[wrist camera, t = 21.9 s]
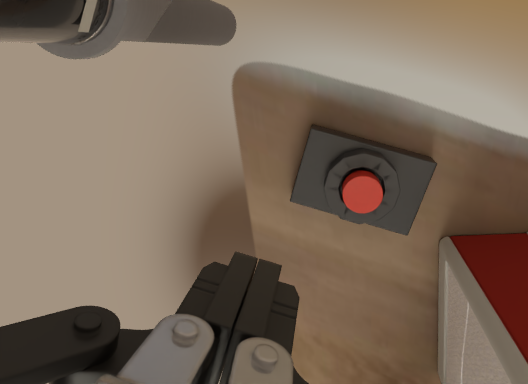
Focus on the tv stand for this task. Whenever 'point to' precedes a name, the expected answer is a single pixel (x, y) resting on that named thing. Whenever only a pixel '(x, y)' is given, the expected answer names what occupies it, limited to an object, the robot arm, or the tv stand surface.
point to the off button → (362, 191)
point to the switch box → (368, 159)
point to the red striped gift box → (483, 309)
